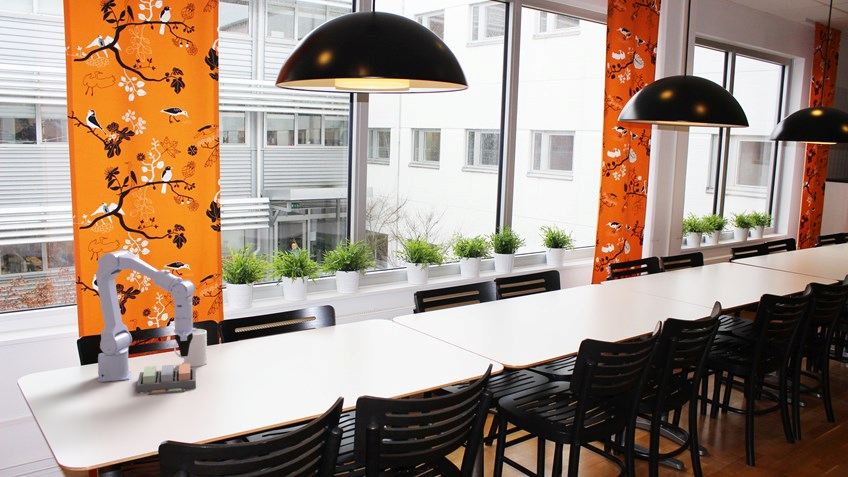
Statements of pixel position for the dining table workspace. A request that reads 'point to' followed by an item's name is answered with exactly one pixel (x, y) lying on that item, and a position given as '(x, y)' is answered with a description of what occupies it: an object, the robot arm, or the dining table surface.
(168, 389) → the strip
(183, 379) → the key terracotta
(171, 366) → the key slate
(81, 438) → the dining table surface
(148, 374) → the key sage
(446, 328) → the dining table surface
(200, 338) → the mug
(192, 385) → the keypad frame
